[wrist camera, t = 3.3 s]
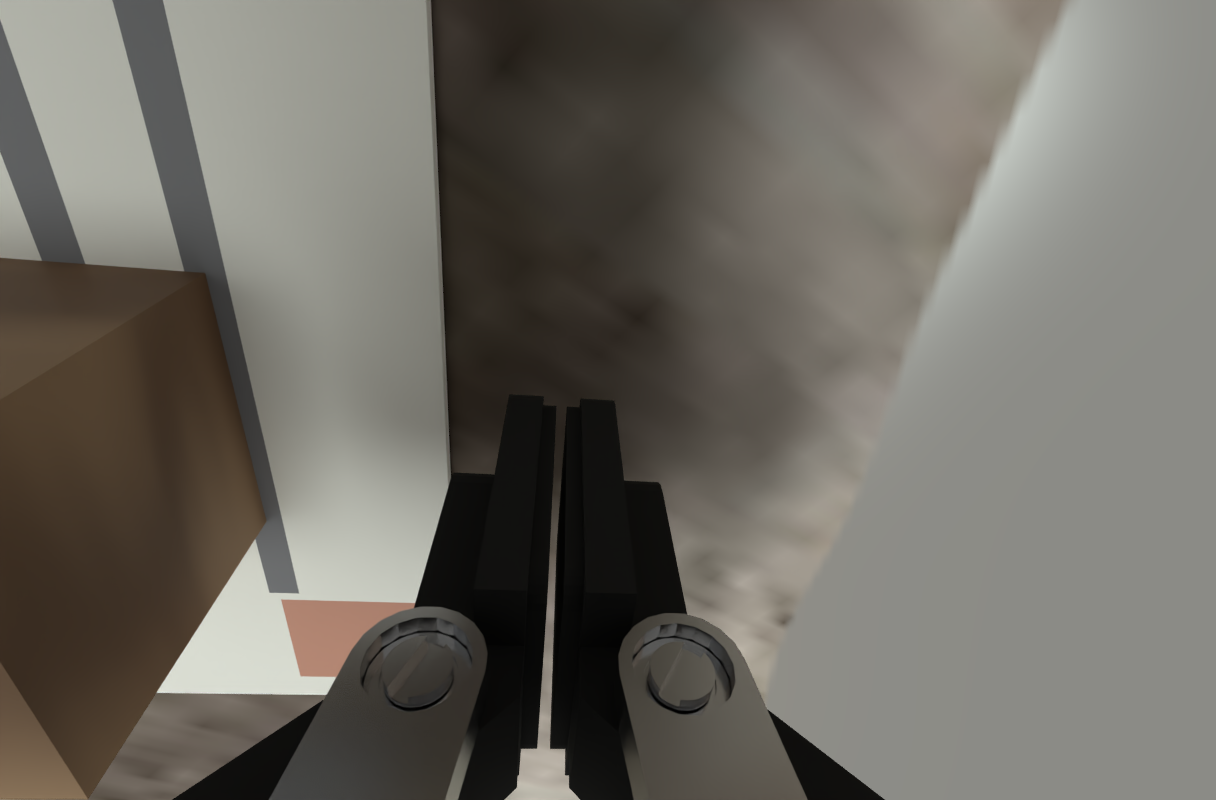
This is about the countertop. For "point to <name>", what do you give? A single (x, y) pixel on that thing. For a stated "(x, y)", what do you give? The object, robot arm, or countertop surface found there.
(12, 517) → the walnut block
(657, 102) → the countertop surface
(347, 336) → the letter
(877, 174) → the countertop surface
